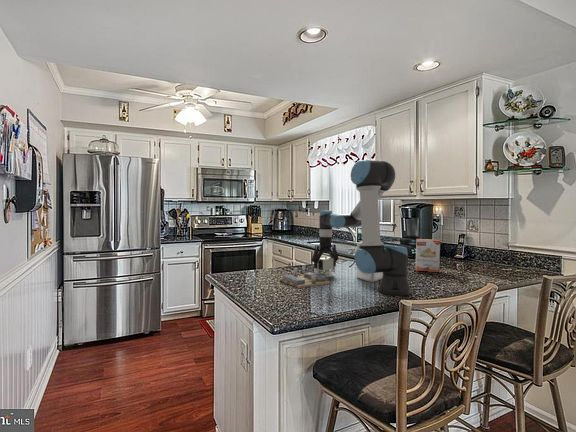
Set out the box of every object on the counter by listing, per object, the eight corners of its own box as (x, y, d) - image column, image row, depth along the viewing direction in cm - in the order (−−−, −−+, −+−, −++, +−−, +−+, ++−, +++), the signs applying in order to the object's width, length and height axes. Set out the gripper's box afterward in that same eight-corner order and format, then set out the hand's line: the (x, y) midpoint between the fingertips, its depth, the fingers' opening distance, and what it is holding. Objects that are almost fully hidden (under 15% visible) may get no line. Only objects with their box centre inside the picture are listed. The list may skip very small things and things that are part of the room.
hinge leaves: (329, 281, 186) (329, 272, 186) (299, 285, 176) (299, 276, 176) (308, 274, 204) (308, 266, 204) (280, 278, 194) (280, 269, 194)
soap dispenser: (374, 282, 189) (374, 243, 188) (350, 279, 198) (351, 241, 197) (384, 278, 201) (385, 240, 201) (362, 275, 210) (362, 239, 209)
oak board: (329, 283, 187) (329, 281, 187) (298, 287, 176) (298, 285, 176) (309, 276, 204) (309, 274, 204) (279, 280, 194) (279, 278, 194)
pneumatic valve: (335, 276, 205) (336, 256, 205) (319, 278, 200) (319, 257, 199) (330, 274, 210) (330, 255, 210) (314, 276, 205) (314, 256, 204)
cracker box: (416, 271, 221) (416, 239, 220) (415, 270, 227) (416, 238, 226) (439, 273, 217) (440, 240, 216) (438, 271, 223) (439, 239, 222)
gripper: (337, 235, 213) (336, 269, 214) (305, 236, 201) (305, 273, 202) (345, 236, 207) (344, 272, 208) (312, 237, 195) (312, 275, 196)
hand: (325, 272), depth 205 cm, fingers closed on pneumatic valve, 11 cm apart
